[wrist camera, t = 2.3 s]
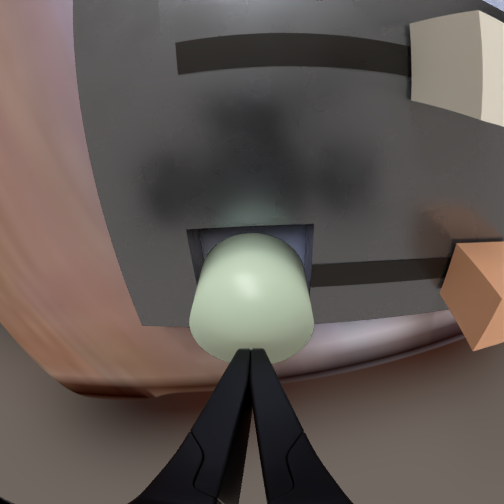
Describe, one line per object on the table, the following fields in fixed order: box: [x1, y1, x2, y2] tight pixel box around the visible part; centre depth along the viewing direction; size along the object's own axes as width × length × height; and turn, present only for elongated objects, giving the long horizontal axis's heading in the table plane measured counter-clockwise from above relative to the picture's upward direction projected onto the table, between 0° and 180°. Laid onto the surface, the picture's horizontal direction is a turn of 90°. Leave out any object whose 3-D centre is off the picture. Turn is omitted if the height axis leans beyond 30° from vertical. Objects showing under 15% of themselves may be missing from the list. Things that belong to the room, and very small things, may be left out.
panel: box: [73, 0, 504, 327], centre depth 11 cm, size 20×16×2 cm
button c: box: [189, 233, 314, 364], centre depth 12 cm, size 4×4×3 cm
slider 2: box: [440, 242, 504, 351], centre depth 10 cm, size 4×3×4 cm
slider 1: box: [410, 10, 504, 127], centre depth 6 cm, size 4×3×4 cm
